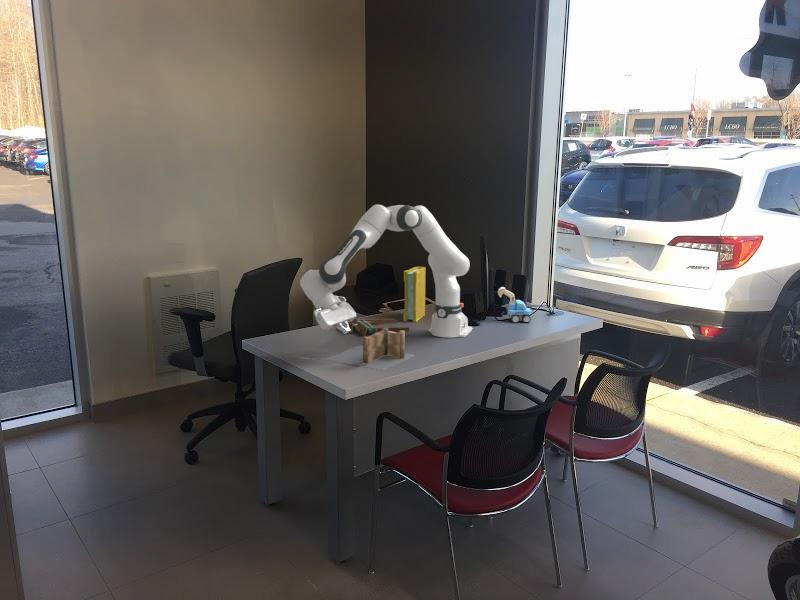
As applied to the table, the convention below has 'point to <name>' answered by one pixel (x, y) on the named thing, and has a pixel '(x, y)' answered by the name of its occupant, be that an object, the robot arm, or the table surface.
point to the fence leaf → (373, 346)
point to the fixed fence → (394, 343)
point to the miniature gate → (366, 326)
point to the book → (414, 293)
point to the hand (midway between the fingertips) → (348, 332)
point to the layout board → (381, 363)
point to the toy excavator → (516, 307)
